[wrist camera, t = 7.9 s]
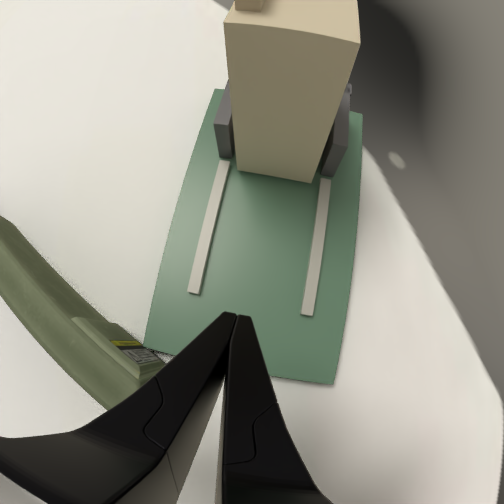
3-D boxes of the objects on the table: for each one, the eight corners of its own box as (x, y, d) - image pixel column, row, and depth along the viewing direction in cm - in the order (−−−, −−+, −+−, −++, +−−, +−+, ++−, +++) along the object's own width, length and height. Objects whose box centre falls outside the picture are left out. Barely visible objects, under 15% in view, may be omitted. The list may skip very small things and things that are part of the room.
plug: (311, 183, 21) (368, 19, 8) (237, 170, 21) (221, -3, 8) (318, 125, 22) (360, -30, 9) (251, 113, 22) (250, -46, 9)
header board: (329, 382, 19) (362, 403, 12) (147, 345, 19) (104, 350, 13) (359, 121, 23) (383, 67, 17) (216, 96, 24) (207, 38, 18)
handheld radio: (152, 405, 19) (-24, 218, 22) (178, 368, 19) (-7, 191, 23) (114, 429, 12) (-66, 191, 16) (148, 380, 13) (-47, 160, 16)
